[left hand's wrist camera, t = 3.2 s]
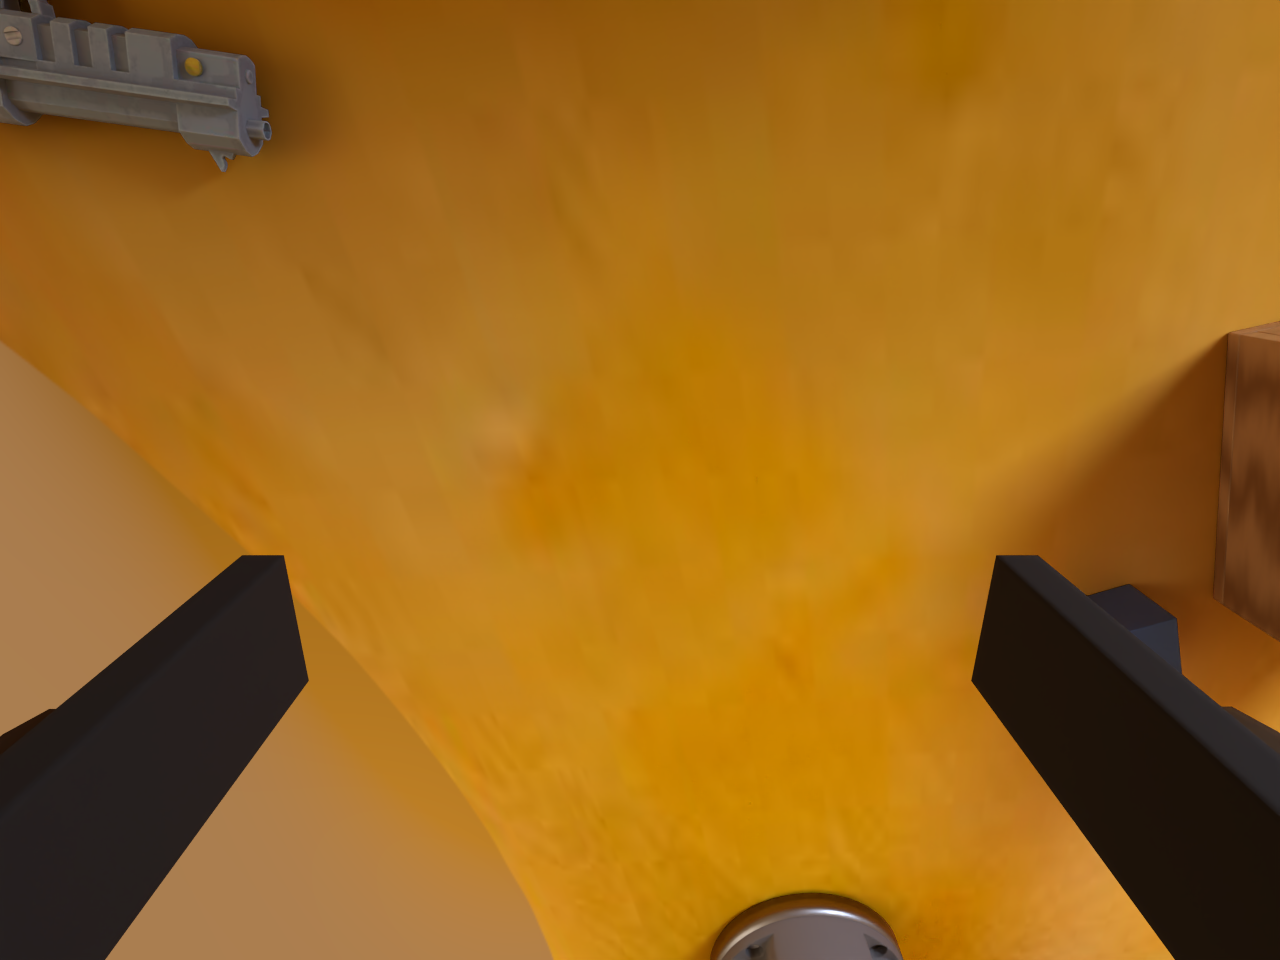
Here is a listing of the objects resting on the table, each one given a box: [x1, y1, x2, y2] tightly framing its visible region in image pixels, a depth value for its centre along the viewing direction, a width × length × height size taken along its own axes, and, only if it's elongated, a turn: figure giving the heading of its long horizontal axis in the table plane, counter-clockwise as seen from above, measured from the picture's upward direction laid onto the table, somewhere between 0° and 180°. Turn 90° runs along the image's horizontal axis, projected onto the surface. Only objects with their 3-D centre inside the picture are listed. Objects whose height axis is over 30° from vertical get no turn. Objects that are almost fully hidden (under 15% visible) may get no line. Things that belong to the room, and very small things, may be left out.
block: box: [1088, 584, 1182, 674], centre depth 43 cm, size 4×4×4 cm
